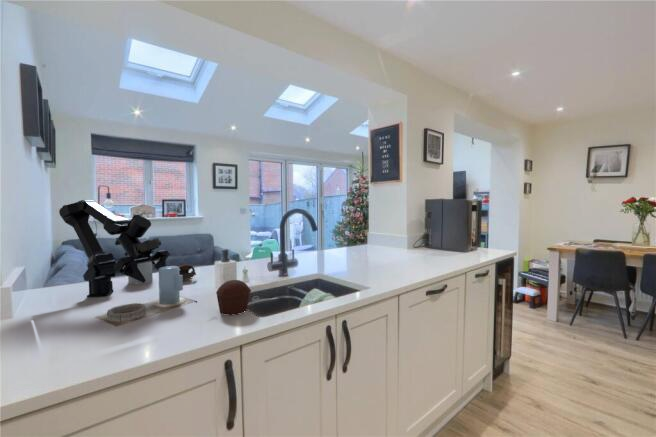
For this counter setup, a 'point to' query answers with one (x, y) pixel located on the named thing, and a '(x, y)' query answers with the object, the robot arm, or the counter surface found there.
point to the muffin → (233, 297)
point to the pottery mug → (186, 271)
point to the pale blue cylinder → (170, 285)
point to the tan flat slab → (138, 311)
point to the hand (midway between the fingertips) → (156, 278)
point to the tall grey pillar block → (143, 273)
